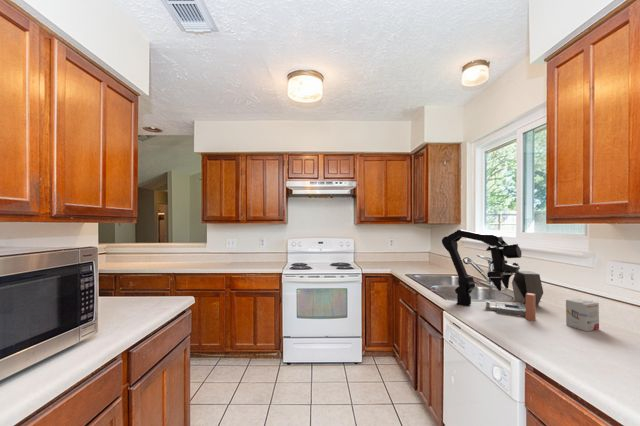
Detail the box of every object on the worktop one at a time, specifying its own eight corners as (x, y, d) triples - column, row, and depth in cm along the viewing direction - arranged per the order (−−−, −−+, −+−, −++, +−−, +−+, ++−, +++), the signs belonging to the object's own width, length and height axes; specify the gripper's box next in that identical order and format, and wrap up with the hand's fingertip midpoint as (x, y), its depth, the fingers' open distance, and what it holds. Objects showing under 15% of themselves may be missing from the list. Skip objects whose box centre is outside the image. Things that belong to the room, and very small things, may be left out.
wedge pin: (525, 319, 149) (525, 294, 149) (528, 317, 152) (528, 292, 152) (532, 320, 147) (533, 295, 147) (535, 319, 150) (535, 294, 150)
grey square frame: (496, 312, 159) (496, 307, 159) (495, 306, 171) (495, 301, 171) (529, 317, 152) (529, 312, 152) (526, 309, 165) (526, 305, 165)
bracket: (485, 309, 164) (485, 301, 164) (485, 308, 166) (485, 300, 166) (496, 310, 162) (496, 303, 162) (496, 309, 164) (496, 302, 164)
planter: (509, 288, 192) (518, 263, 181) (523, 289, 191) (532, 264, 180) (520, 310, 178) (531, 284, 167) (535, 311, 177) (546, 285, 166)
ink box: (578, 323, 144) (578, 297, 144) (599, 329, 136) (599, 302, 136) (565, 325, 142) (565, 299, 142) (586, 331, 134) (585, 304, 134)
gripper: (508, 259, 148) (514, 292, 146) (522, 256, 160) (527, 287, 158) (484, 260, 156) (489, 292, 154) (498, 257, 169) (503, 287, 166)
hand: (503, 289), depth 158 cm, fingers open, 9 cm apart
